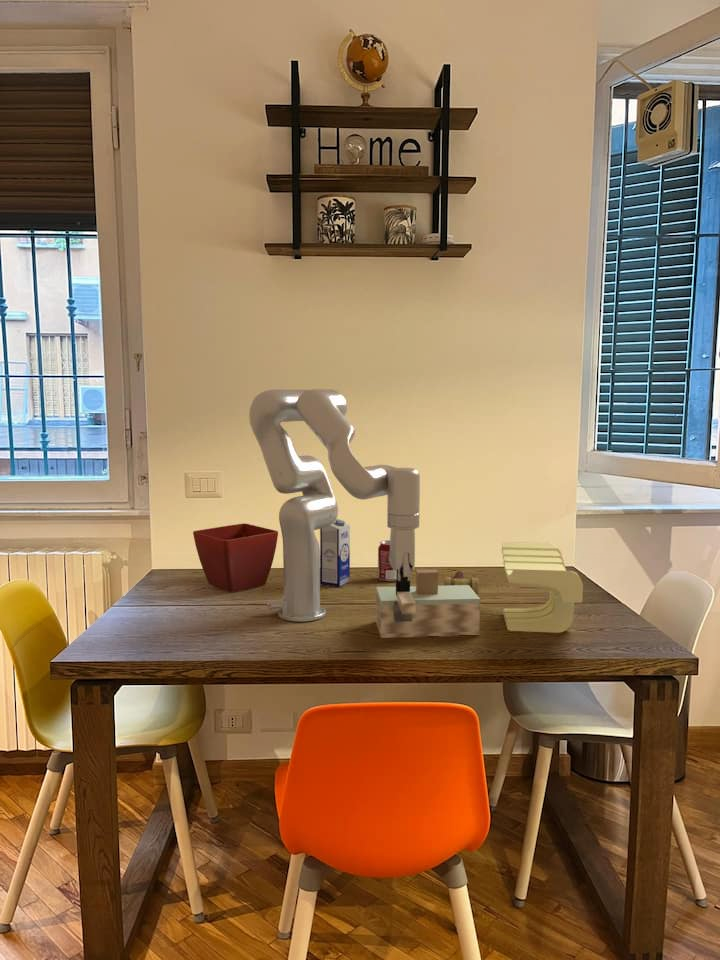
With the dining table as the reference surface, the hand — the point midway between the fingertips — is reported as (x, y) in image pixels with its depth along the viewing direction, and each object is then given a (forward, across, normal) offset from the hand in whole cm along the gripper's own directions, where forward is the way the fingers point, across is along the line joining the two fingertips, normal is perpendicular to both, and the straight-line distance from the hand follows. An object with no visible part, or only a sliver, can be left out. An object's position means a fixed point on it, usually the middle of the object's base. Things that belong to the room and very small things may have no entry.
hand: (402, 596), depth 169 cm
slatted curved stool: (+11, -8, +36) cm, 38 cm away
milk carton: (+10, -50, -14) cm, 53 cm away
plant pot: (+10, -50, -44) cm, 67 cm away
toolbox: (+10, -5, +7) cm, 13 cm away
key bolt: (+1, +6, 0) cm, 6 cm away
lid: (+2, -6, +7) cm, 10 cm away
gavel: (+11, -46, +24) cm, 53 cm away
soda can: (+10, -53, +3) cm, 54 cm away
